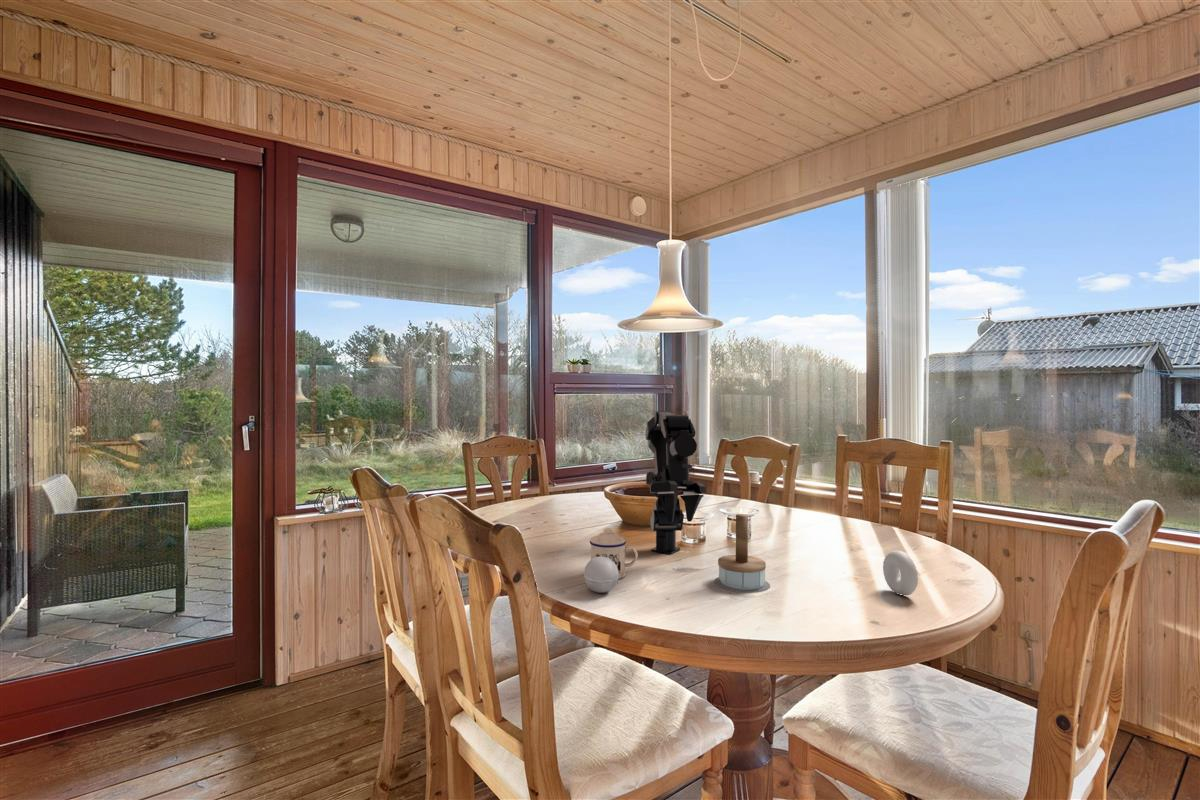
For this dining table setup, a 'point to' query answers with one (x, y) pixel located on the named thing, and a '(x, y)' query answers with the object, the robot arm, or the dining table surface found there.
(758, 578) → the bowl
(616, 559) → the teacup with lid
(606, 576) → the bath bomb
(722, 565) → the lid
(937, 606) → the dining table surface
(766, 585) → the trivet
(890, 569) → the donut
